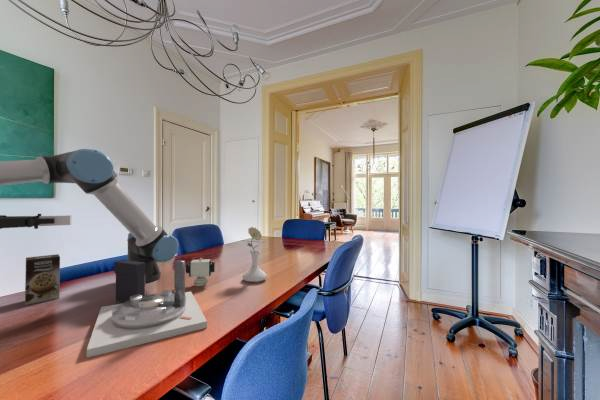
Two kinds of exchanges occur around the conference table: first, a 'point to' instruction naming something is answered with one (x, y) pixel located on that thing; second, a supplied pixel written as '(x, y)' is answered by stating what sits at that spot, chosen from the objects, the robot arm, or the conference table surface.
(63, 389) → the conference table surface
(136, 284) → the black upright block
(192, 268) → the pneumatic valve
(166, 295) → the round disc with peg
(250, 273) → the flower in vase
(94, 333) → the base plate
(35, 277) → the brown food box
